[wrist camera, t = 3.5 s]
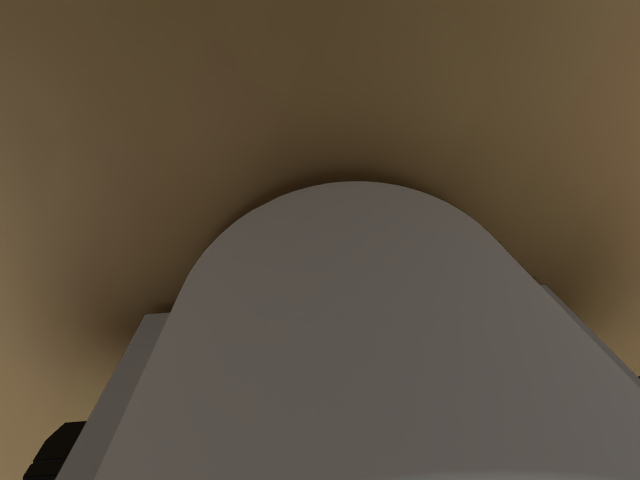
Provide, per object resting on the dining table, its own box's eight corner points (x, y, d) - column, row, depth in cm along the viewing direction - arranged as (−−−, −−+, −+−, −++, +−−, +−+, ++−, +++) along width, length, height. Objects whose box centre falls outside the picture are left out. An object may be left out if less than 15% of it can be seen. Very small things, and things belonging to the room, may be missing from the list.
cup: (419, 95, 12) (775, 270, 3) (554, 366, 16) (910, 822, 7) (110, 282, 14) (-247, 755, 5) (295, 490, 18) (293, 992, 8)
